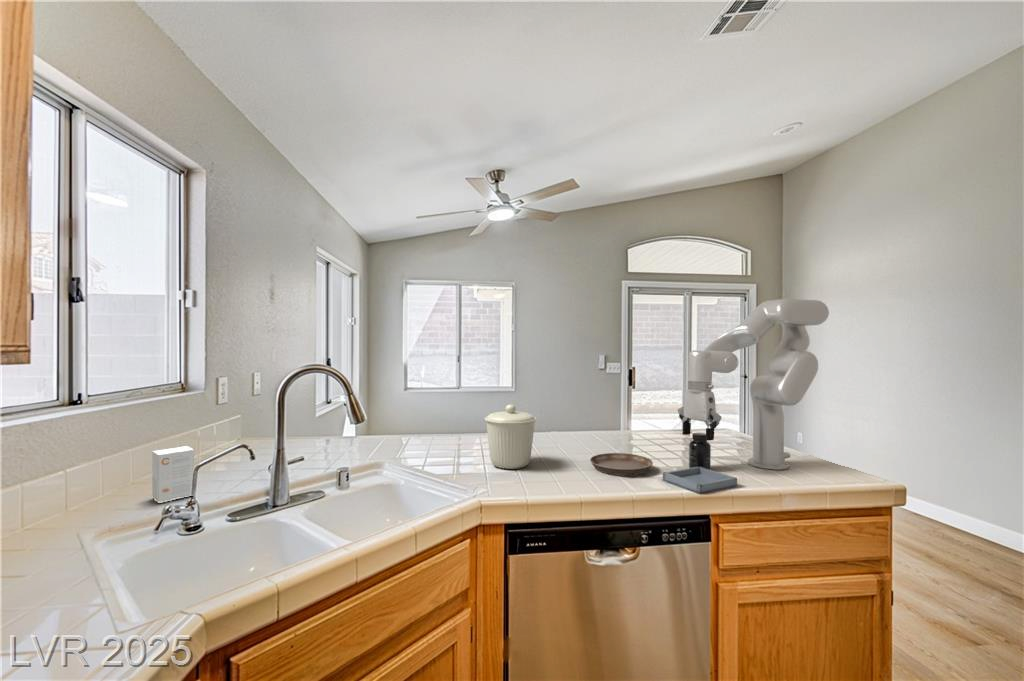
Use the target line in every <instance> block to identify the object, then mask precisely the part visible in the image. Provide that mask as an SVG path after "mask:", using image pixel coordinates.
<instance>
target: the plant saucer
mask: <svg viewBox="0 0 1024 681" xmlns="http://www.w3.org/2000/svg"><path fill="white" fill-rule="evenodd" d="M589 461H590V464H591V465H592V466H593V467H594V468H595V469H596V470H597V471H598V472H601V473H603V472H604V474H606V473H608V474H607V475H611V474H613V475H612V476H618V475H635V476H640V475H643V474H645V473H646V472H647V471H649V469H650V468H651V467H652V466H653V463H654V462H653V460H652V459H651V458H648V457H646V456H643V455H638V454H634V453H624V452H623V453H622V452H609V453H600V454H596V455H593V456H591V457H590V458H589ZM639 474H640V475H639Z"/></svg>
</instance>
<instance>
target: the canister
mask: <svg viewBox="0 0 1024 681" xmlns="http://www.w3.org/2000/svg"><path fill="white" fill-rule="evenodd" d="M516 409H517V407H516V406H515V405H514V404H507V405H506V406H505V411H496V412H492V413H489V414H488V415H487V416H485V417H484V421H486V430H487V441H488V443H487V444H488V450H489V457H490V461H491V464H492V465H493V466H494V467H496V468H499V469H504V468H505V470H515V469H523V468H525V467H526V466H528V464H530V463H529V462H530V460H531V458H532V457H531V455H532V451H533V450H532V448H533V440H534V433H535V422H536V421H537V420H538V418H537V417H536V416H534V415H533V414H532V413H529V412H523V411H516Z"/></svg>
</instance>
